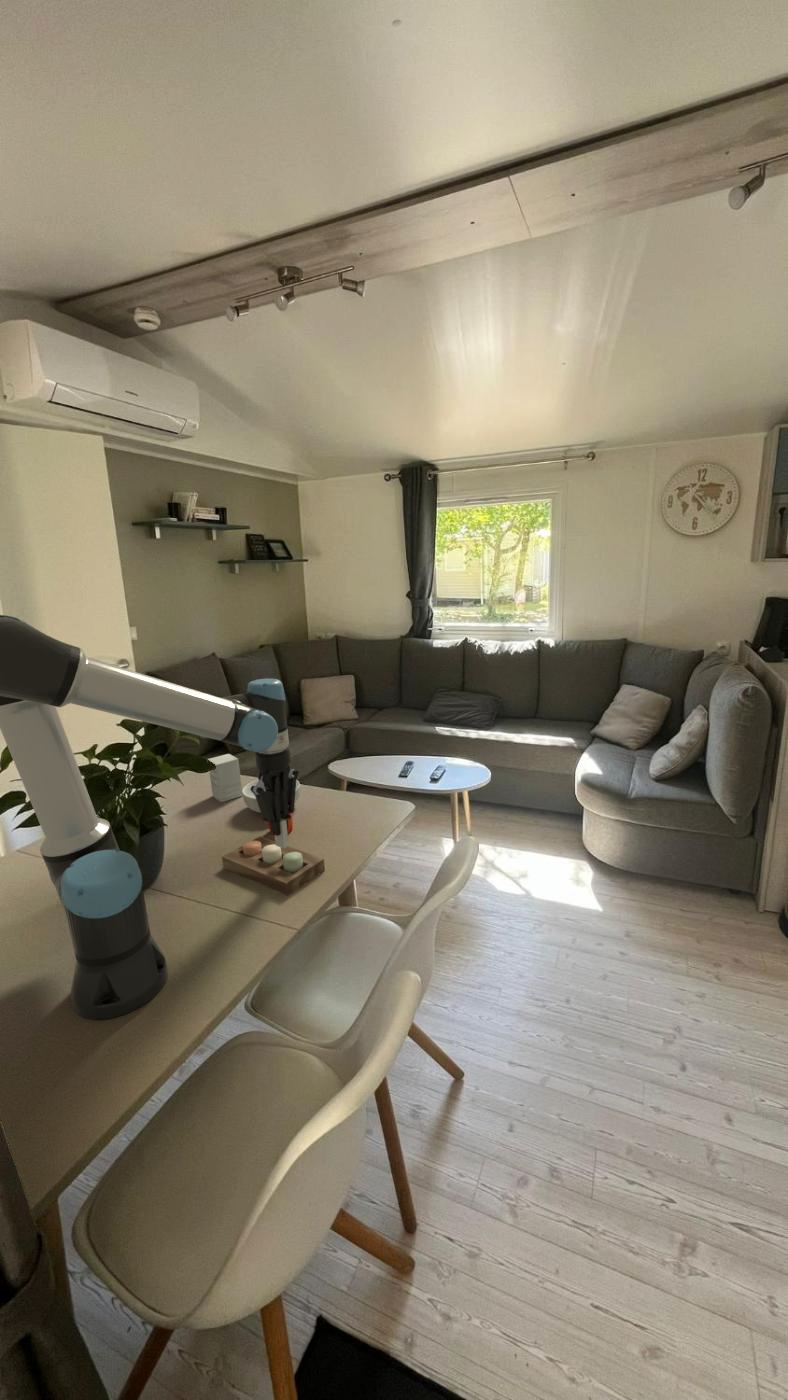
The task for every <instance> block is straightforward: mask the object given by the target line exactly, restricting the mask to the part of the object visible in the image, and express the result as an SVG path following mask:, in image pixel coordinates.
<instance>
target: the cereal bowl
mask: <svg viewBox="0 0 788 1400" xmlns="http://www.w3.org/2000/svg"><path fill="white" fill-rule="evenodd" d="M258 782H259V779H258V778H257V779H255V780H252V781H251V782H248V784H245V786H243V787H242V795H243V796H242V799H243V803H244V804H245V806H246V807H247V808H249V809H250V810H251V811H254V812H255V813H260V814H261V811H260V808H259V806H258V803H257V800H256V797H255V795H254V793H253V792H252V791H251V787H252V786H256V785H257V783H258ZM300 794H301V784H300V781H299V780H298V779H297V780H296V791H295V804H296V803H297V801H298V800H299V798H300V796H301V795H300Z"/></svg>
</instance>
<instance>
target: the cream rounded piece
mask: <svg viewBox="0 0 788 1400" xmlns="http://www.w3.org/2000/svg"><path fill="white" fill-rule="evenodd" d="M262 856H263V862H264V863H267V864H269V865H273V864H275V863H277V862H278V861H280V860H282V854H281V847H278V846H276V845H275V844H273V845H268V846H265V847H264V848H263V849H262Z"/></svg>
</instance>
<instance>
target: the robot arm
mask: <svg viewBox="0 0 788 1400" xmlns="http://www.w3.org/2000/svg"><path fill="white" fill-rule="evenodd" d="M246 690H247V692H243V693H240V694H234V695H228V696H223V697H218V696H215V695H212V694H210V693H206V692H202V691H199V690H197V689H192V688H190V687H186V686H183V685H178V684H177V683H173V682H170V681H167V680H163V679H160V678H157V677H154V676H150V675H147V674H144V673H140V672H137V671H134V670H130V669H128V668H124V667H122V666H118V665H114V664H111V663H108V662H104V661H101V660H98V659H95V658H93V657H89V656H86V654H85V652H84V650H83V649H82V648H81V647H78V646H75V645H72V644H70V643H69V644H68V643H66V642H63V641H60V640H58V639H56V638H54V637H52V636H50V635H47V633H46V634H45V633H44V632H42V631H40V630H38V629H37V628H36V627H34V626H32V625H30V624H29V623H27V622H25V621H24V620H22V619H19V618H18V617H15V616H11V615H5V614H0V732H1V734H2V737H3V739H4V741H5V744H6V746H7V748H8V750H9V753H10V755H11V758H12V760H13V763H14V765H15V768H16V771H17V773H18V775H19V777H20V779H21V782H22V784H23V786H24V789H25V791H26V794H27V796H28V799H29V802H30V804H31V805H32V809H33V812H34V813H35V816H36V818H37V821H38V822H39V823H38V824H39V825H40V827H41V830H42V832H43V835H44V837H45V838H44V840H43V841H42V843H41V845H40V847H39V852H40V854H41V856H42V859H43V860H44V863H45V866H46V868H47V871H48V874H49V878H50V880H51V882H52V884H53V886H54V887H55V889H56V890H55V891H56V893H57V896H58V898H59V900H60V901H59V902H60V903H61V905H62V908H63V910H64V911H63V912H64V913H65V916H66V917H65V918H66V921H67V924H68V928H69V933H70V937H71V943H72V946H73V951H74V957H75V966H74V970H73V975H72V977H73V978H72V984H71V987H70V988H71V989H70V998H71V1002H72V1007H73V1009H74V1011H75V1013H77V1014H78V1015H79V1016H80V1017H82V1018H86V1019H91V1020H106V1019H113V1018H116V1017H117V1018H118V1017H120V1016H123V1015H126V1014H129V1013H130V1012H131V1013H132V1012H133V1011H135V1010H137V1009H138V1008H140V1007H142V1006H143V1005H145V1004H146V1003H149V1002H150V1000H152V999H153V998H154V997H156V995H157V994H158V993H159V992H160V991H161V990H162V989H163V987H164V985H165V984H166V982H167V980H168V976H169V969H168V964H167V959H166V956H165V954H164V953H163V951H162V949H161V948H160V947H159V945H158V944H157V942H156V941H155V939H154V937H153V936H152V934H151V929H150V923H149V916H148V912H147V905H146V899H145V894H144V888H143V876H142V872H141V869H140V867H139V864H138V862H137V861H138V860H136V858H135V857H134V856H133V855H132V854H130V853H128V852H126V851H123V850H120V848H119V845H118V843H117V840H116V837H115V835H114V832H113V829H112V826H111V824H110V822H109V821H108V820H106V819H104V818H101V817H98V816H97V813H96V810H95V808H94V804H93V802H92V801H91V797H90V795H89V793H88V792H89V791H88V790H87V786H86V784H85V782H84V778H83V776H82V774H81V771H80V768H79V765H78V763H77V761H76V757H75V755H74V752H73V750H72V747H71V744H70V742H69V738H68V737H67V734H66V732H65V728H64V725H63V723H62V721H61V718H60V716H59V712H58V710H57V708H62V707H64V706H67V705H70V704H73V705H76V706H79V707H80V706H81V707H84V708H87V709H88V708H89V709H91V710H92V709H93V710H97V711H101V712H105V713H108V714H112V715H116V716H120V717H124V718H128V719H132V720H137V721H141V722H145V723H149V724H152V725H156V726H161V727H165V728H168V729H169V728H170V729H173V730H176V731H180V732H185V733H189V734H191V735H196V736H199V737H200V738H202V739H207V738H208V739H212V740H216V741H220V742H223V743H226V744H231V745H235V746H239V747H241V748H242V749H244V750H247V751H250V752H254V755H255V764H256V765H255V766H256V767H257V769H258V772H259V773H258V776H257V777H258V778H257V780H258V779H259V782H258V783H257V785H256V786H252V787H251V791H252V792H253V793H254V795H255V797H256V800H257V803H258V806H259V808H260V811H261V813H260V814H261V817H262V820H263V821H264V822H266V823H268V824H269V823H271V824H272V833H273V835H272V836H274V835H275V836H274V841H275V844H276V846H278V847H281V848H286V847H287V846H289V845H290V844H289V837H288V835H289V834H287V830H288V828H289V827H288V819H290V818H291V815H289V814H290V813H292V814H293V813H294V812H295V805H296V803H295V791H296V780H298V777H299V770H297V769H294V768H293V769H292V768H291V766H290V764H291V752H290V751H291V749H290V747H289V746H290V742H289V739H290V738H289V733H288V732H289V731H288V730H289V729H288V720H287V719H288V718H287V708H286V707H287V706H286V701H287V700H286V695H285V689H284V685H283V683H282V681H281V680H279V679H277V678H261V679H260V678H259V679H255V680H252V681H249V682H248V684H247V689H246ZM264 787H265V789H264ZM288 805H289V807H288ZM289 847H290V846H289Z"/></svg>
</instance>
